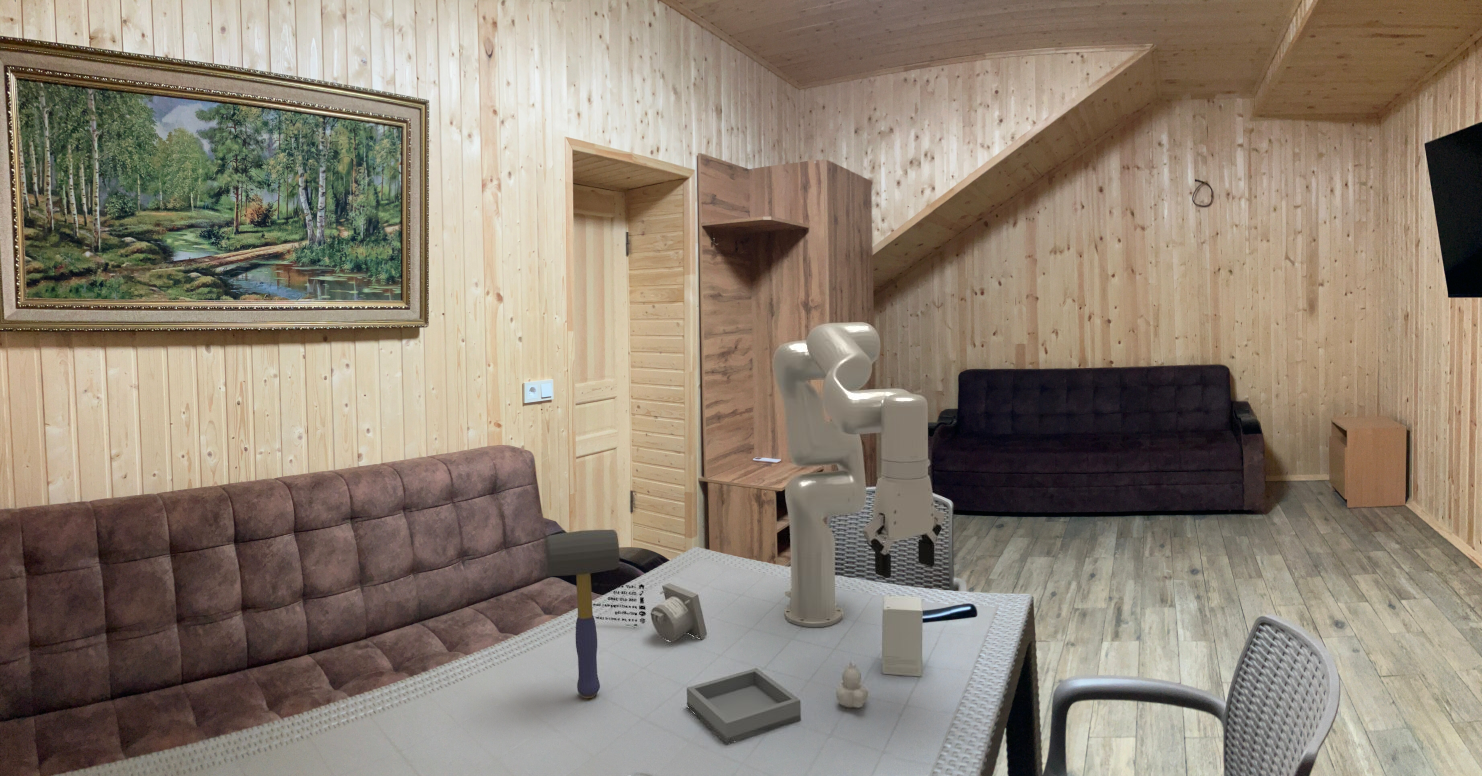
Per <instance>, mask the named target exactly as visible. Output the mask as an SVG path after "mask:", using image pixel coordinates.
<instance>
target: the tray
mask: <svg viewBox="0 0 1482 776" xmlns="http://www.w3.org/2000/svg"><path fill="white" fill-rule="evenodd" d="M801 705H802V703H801V699H800V698H798V697H797V696H795V695H794V694H793V693H791V692H790V691H788V689H786V688H785V687H783V686H782V685H780V684H779V683H778V682H777V681H775V680H774V679H772V678H771V677H770V676H768V675H767V674H766V673H764V672H763V671H762V670H760V669H759V668H758V667H755V668H752V669H748V670H744V671H741V672H740V671H739V672H737V673H733V674H730V675H727V676H722V677H720V678H716V679H713V680H712V679H711V680H709V681H706V682H701V683H698V684H694V685H691V686H688V687H686V707H687V706H688V707H689V708H690V709H691V710H692V711H693V712H694V713H695V714H696V715H697V716H698V717H699V718H700V719H701V720H702V721H701V720H700V719H699V718H698V717H697V716H696V715H695V714H694V713H693V712H692V711H691V710H690V709H689V708H688V707H687V708H688V709H689V710H690V711H691V712H692V713H693V714H694V715H695V716H696V717H697V718H698V719H699V720H700V721H701V722H702V723H704V724H705V726H706V727H707V728H709V729H710V730H711V731H712V732H713V731H714V732H715V733H716V734H717V735H718V736H719V737H720V738H719V737H718V738H719V739H720V740H722V741H723V742H724V743H725V744H726V745H729V743H730V744H732V742H733V743H735V742H734V741H736V742H737V741H738V740H739V741H741V739H742V740H744V739H749V738H751V737H754V736H757V735H760V734H762V733H766V732H768V731H772V730H775V729H778V728H780V727H784V726H788V725H790V724H793V723H796V722H800V721H801V720H802V718H801V717H802V716H801V715H802V714H801V709H802V708H801ZM714 732H713V733H714ZM715 733H714V734H715ZM716 734H715V735H716ZM717 735H716V736H717ZM739 741H738V742H739Z"/></svg>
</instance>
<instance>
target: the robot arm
mask: <svg viewBox="0 0 1482 776" xmlns="http://www.w3.org/2000/svg"><path fill="white" fill-rule="evenodd" d="M880 352H881V340H880V336H879V333H878V332H877V329H876V328H875V327H874V326H873V325H871V324H869V323H867V322H865V321H864V322H863V321H857V322H856V321H854V322H850V321H849V322H829V323H828V322H827V323H823V324H819V325H817V326H815V327H814V328H812V329H811V331H809V333H808V334H807V337H806V339H804V340H795V341H789V342H786V343H783V344H781V345H780V346H779V347H777V349H776V350H775V352H774V356H773V364H772V365H773V366H772V368H773V376H774V379H775V382H776V386H777V388H778V392H779V394H780V396H781V400H782V402H783V409H784V419H785V429H786V430H785V431H786V441H787V449H788V451H787V452H788V455H789V459H790V461H791V463H792V464H793V465H795V466H797V467H801V468H803V467H804V468H806V467H807V468H808V467H821V466H823V467H824V466H835V465H836V466H837V469H838V470H835V471H831V470H830V471H819V472H818V471H817V472H809V473H803V474H798V475H796V476H793V477H792V478H791V479H789V480H788V482H787V483H786V484H785V489H784V496H785V503H786V509H787V515H788V522H789V523H788V524H789V534H790V535H789V539H790V543H789V544H790V590H787V591H786V592H785V596H786V597H787V598H788V599H789V605H788V606H786V607H785V608H784V611H783V613H784V614H783V617H784V619H786V620H787V621H788V623H789V622H790V623H791V624H794V625H796V626H801V627H805V628H806V627H808V628H823V627H829V626H832V625H835V624H837V623H839V622H840V621H841V620H842V618H843V610H842V608H840V606H838V605H837V604H836V571H835V570H836V556H835V555H836V543H835V536H834V533H833V531H832V530H831V528H829V526H828V525H827V524H826V523H825V521H824V519H825V518H830V517H836V516H837V517H838V516H843V515H844V516H847V515H853V514H854V515H855V514H858V513H859V512H861V511H862V510H863V509H864V507H865V506H866V503H867V482H866V473H865V472H866V471H865V461H864V451H863V444H862V439H861V436H860V435H865V434H866V435H868V434H879V433H880V434H881V437H880V438H881V446H880V447H881V452H880V454H881V455H880V456H881V461H880V462H881V476H880V477H878V478H877V481H876V484H875V491H874V499H873V508H872V520H871V521H870V522H868V523H867V525H866V526H864V527H863V528H862V531H861V532H862V534H863V537H864V538H865V540H866V544H867V545H868V546H869V547H870V548H871V550H872V552H874V572H875V574H876V575H878V576H880V577H883V578H885V579H889V578H891V576H892V556H891V553H888V552H889V550H890V549H891V547H892V545H893V543H894V542H897V541H903V540H908V539H911V538H915V537H920V539H918V541H917V542H918V544H917V545H918V546H917V547H918V555H917V556H918V559H917V560H918V563H919V564H922V565H924V566H927V567H935V543H937V542H938V541H939V539H938V536H939V535H940V533H941V531H942V526H943V523H944V520H945V517H946V514H945V513H944V512H941V511H939V510H937V509H935V505H934V503H935V502H934V494H933V493H934V492H933V487H932V481H931V477H930V475H929V474H928V473H929V467H930V465H931V460H930V459H929V440H928V439H929V437H928V436H929V429H928V428H929V424H928V423H929V422H928V421H929V412H928V411H929V408H928V407H929V406H928V405H929V404H928V401H927V399H926V397H924V396H923V395H921V394H914V393H911V392H909V391H908V390H906V389H903V388H895V387H894V388H893V387H892V388H874V389H861V388H863V387H864V386H865V385H866V384H867V383H868V381H869V380H870V378H871V375H872V372H873V364H874V362H875V361H876V360H877V359H878V357H879V355H880ZM823 380H824V381H823ZM809 381H823V383H822V389H821V394H820V393H819V391H818V390H817V389H816V388H815V387H814V386H813V385H812V384H811V382H809ZM825 412H826V414H827V416H828V417H829V419H830V420H828V421H827V420H826V417H825Z"/></svg>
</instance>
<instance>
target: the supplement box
mask: <svg viewBox="0 0 1482 776" xmlns="http://www.w3.org/2000/svg"><path fill="white" fill-rule="evenodd" d="M923 615H924V613H923V599H922V597H921V596H905V595H903V596H902V595H883V597H882V614H881V618H882V622H881V625H882V626H881V630H882V631H881V633H882V635H881V637H882V638H881V640H882V641H881V649H882V650H881V671H882V672H881V673H882V674H883V675H893V676H894V675H895V676H907V677H908V676H909V677H922V675H923V626H924V624H923V623H924V621H923Z"/></svg>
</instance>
